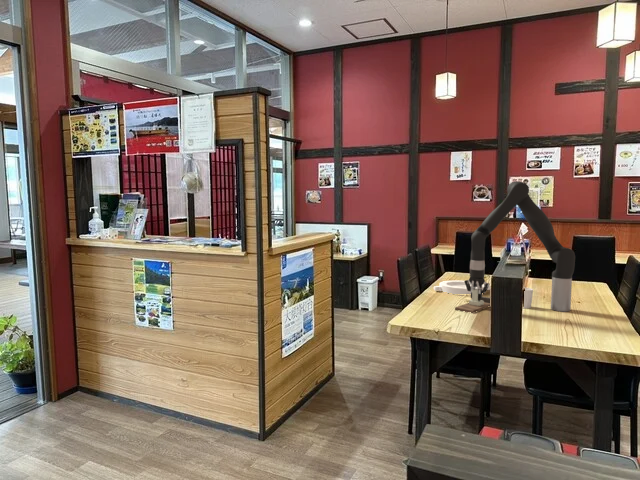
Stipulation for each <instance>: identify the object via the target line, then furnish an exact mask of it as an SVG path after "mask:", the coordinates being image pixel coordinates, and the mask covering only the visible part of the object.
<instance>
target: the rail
mask: <svg viewBox="0 0 640 480" xmlns="http://www.w3.org/2000/svg"><path fill="white" fill-rule="evenodd" d="M490 298H491V297H488V296H482V299H481V300H482V301H484V305H481V306H476V305H471V304H469V302H467V303H463V304H460V305H458V306H455V307H454V310H455V311H458V310H460V311H459V312H463V311H465V312H464V313H468V312H471V313H470V314H475V313H477V312H476V311H478V312H480V311H482V310H481V309H483V308H486V307H488V306H490ZM488 308H489V307H488ZM486 309H487V308H486ZM479 310H480V311H479ZM483 310H484V309H483ZM474 312H475V313H474Z"/></svg>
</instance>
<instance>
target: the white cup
mask: <svg viewBox="0 0 640 480" xmlns="http://www.w3.org/2000/svg"><path fill="white" fill-rule="evenodd" d="M524 288H525V291H524V308H523V309H531V308H532V301H533V293H534V289H533V288H531V287H524Z"/></svg>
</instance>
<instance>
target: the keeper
mask: <svg viewBox="0 0 640 480" xmlns="http://www.w3.org/2000/svg"><path fill="white" fill-rule="evenodd" d="M478 294H479V293H478V289H474V290H472V298H471V299H469V300H468V303H469V304H471V305H476V306H481V305H484V301H482V300H480V301H478Z"/></svg>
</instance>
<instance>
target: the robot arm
mask: <svg viewBox="0 0 640 480" xmlns="http://www.w3.org/2000/svg"><path fill="white" fill-rule="evenodd" d="M506 189H507V190H506V191H507V196H506V197H505V198H504V199H503V201H502V202H501V203H500V204H499V205H497V207H496V208H494V209H493V210H492V211H491V212H490V213H489V214H488V215H487V217H486V218H485V219H484V220H483V221H482V223H481V224H480V225H479V226H478V227H477V228H476V229H475V230H474V232H473V233H472V234H471V237H470V238H471V251H470V261H469V279H466V280H463V281H464V282H465V285H466V287H467V290H468V291H470V292H471V296H470V299H472V290H474V289H475V288H476V287H477V289H478V293H479V294H478V301H480V300H481V299H482V297H483V294H482V293H485V294H486V293H487V291H488V290H487V289H488V287H489V286H491V284H490V282H487V281H486V280H485V274H486V273H485V267H486V264H485V258H486V257H485V256H486V255H485V249H486V248H485V247H486V239H487V238H488V237H489V236H490V234H491V233H492V232H493V231H494V230H495V229H496V228H497V227H498V226H499V225H500V223H502V221H503V220H504V219H505V218H506V216H508V215H509V213H510V212H511V211H512V210H513V209H514V208H515V207H516V206H517V207H518V208H519V210H520V211H521V213H522V215H523V216H524V218H525V220H526V222H527V223H528V225H529V227H530V228H531V229H532V231H533V232H534V233H535V235H536V236H537V238H538V239H539V240H540V242H541V244H542V245H543V246H544V247H545V250H546V252H547V254H548V255H549V258H550V259H551V261H552V262H553V263H555V264H556V266H555V270H553V271H552V273H551V297H550V310H553V311H557V312H570V311H571V307H572V306H571V304H572V288H573V287H572V286H573V285H572V284H573V281H572V280H573V274H574V272H575V266H576V255H575V252H574V250H573V249H572V248H569V247H566V246H565V247H564V246H563V245H562V244H561V243H560V242H559V240H558V239H557V237H556V235H555V231H554V226H553V224H552V222H551V220H550V219H549V217H548V216H547V215H546V213H545V212H544V211H543V210H542V208H540V207H539V205H537V204H536V203H535V202H534V201H533V199H532V197H531V196H530V195H529V193H530V187H529V185H528V184H527V183H525V182H523V181H519V180H517V181H516V180H515V181H512V182H510V183H508V186H507V188H506ZM470 283H471V286H470ZM483 284H484V288H483V290H482V285H483Z"/></svg>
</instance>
